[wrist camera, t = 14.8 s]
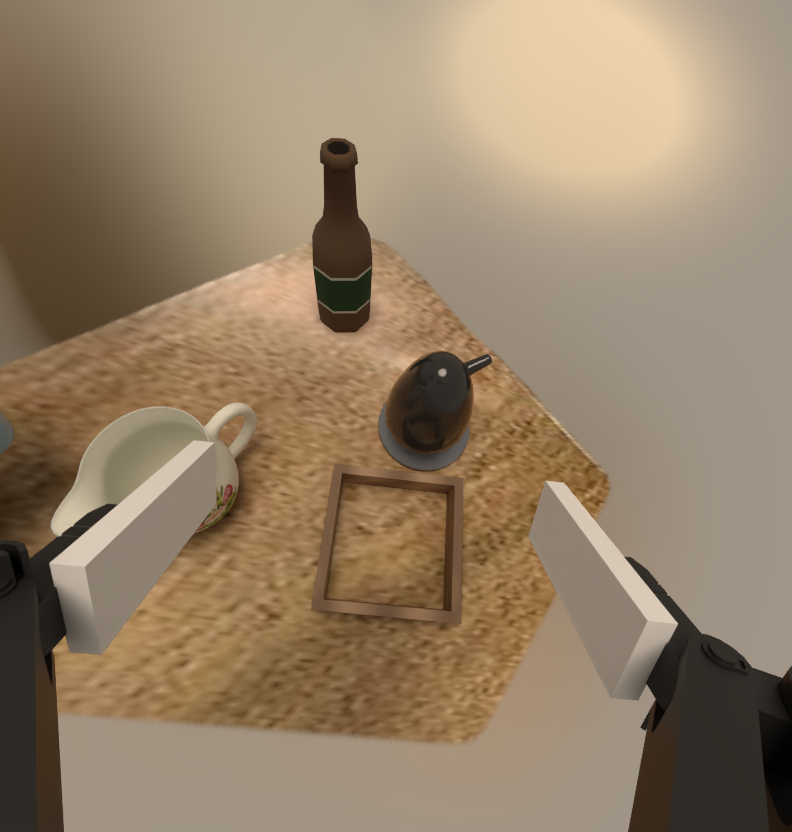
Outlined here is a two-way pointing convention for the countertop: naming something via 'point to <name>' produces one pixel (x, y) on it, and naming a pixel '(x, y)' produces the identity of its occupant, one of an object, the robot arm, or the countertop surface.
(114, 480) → the pitcher
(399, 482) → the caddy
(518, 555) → the countertop surface
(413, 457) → the coaster
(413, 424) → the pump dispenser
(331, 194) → the beer bottle
